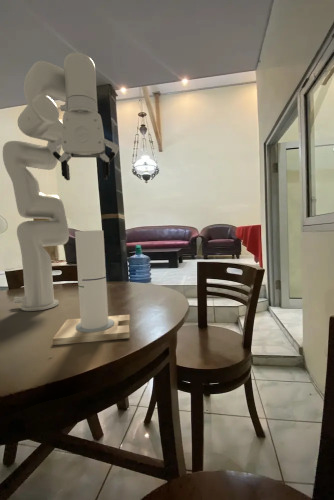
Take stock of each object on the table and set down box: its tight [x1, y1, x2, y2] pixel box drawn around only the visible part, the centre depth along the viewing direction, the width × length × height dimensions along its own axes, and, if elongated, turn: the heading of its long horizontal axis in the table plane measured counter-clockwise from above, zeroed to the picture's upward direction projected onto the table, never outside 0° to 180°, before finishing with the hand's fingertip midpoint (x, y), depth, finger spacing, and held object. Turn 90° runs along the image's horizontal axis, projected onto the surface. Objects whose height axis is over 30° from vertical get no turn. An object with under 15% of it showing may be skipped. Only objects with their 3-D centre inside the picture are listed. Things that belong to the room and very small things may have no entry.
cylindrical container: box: [74, 229, 109, 329], centre depth 69 cm, size 7×7×25 cm
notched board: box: [52, 314, 131, 346], centre depth 70 cm, size 18×14×2 cm
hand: (86, 179), depth 67 cm, fingers open, 9 cm apart
